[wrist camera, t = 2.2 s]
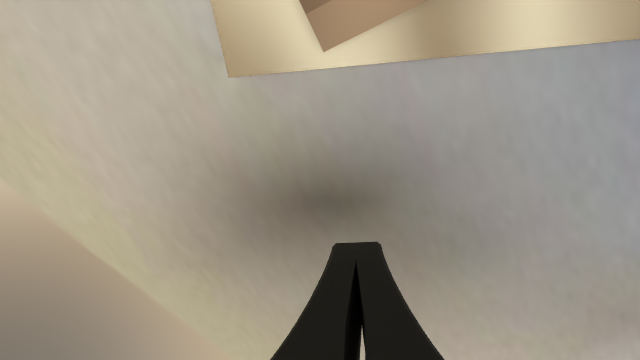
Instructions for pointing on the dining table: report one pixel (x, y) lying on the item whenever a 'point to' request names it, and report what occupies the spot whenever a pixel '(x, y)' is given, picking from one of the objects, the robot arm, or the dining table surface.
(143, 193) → the dining table surface
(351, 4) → the picture frame
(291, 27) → the display board
